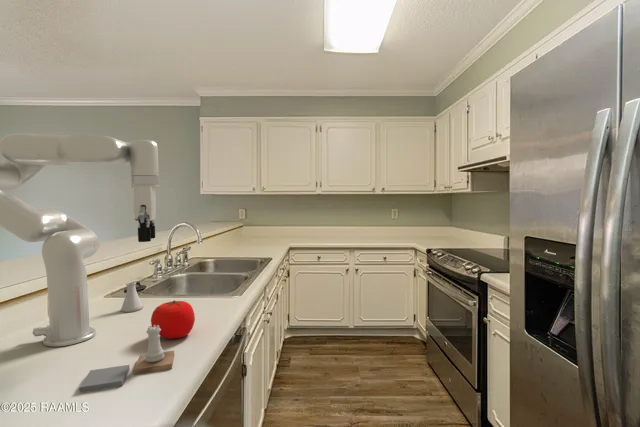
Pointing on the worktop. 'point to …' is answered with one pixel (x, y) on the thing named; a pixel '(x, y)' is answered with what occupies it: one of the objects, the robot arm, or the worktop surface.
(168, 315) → the tomato
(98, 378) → the charcoal coaster
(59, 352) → the worktop surface
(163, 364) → the walnut coaster
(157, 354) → the rook chess piece
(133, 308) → the flask
